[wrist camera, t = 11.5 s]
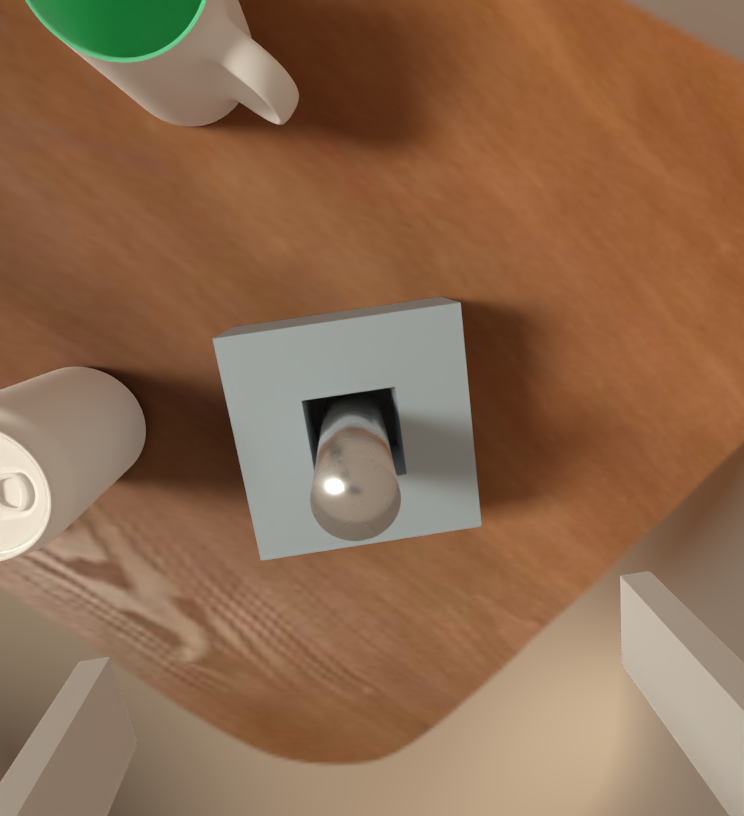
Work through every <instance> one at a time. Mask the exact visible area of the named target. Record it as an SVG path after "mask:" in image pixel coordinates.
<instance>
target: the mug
mask: <svg viewBox="0 0 744 816" xmlns="http://www.w3.org/2000/svg"><path fill="white" fill-rule="evenodd" d="M26 2H27V4H28V5H29V7H30V8H31V9H32V11H33V12H34V14H35V15H36V16H37V17H38V19H39V20H40V21H41V22H42V23H43V24H44V25H45V26H46V27H47V28H48V29H49V30H50V31H51V32H52V33H53V34H54V35H55V36H56V37H58V38H59V39H60V40H61V41H63V42H64V43H65V44H66V45H67V46H69V47H70V48H71V49H72V50H74V51H75V52H76V53H77V54H79V55H80V56H81V57H82V58H83V59H85V60H86V61H87V62H88V63H90V64H91V65H92V66H93V67H94V68H96V69H97V70H98V71H99V72H101V73H102V74H103V75H104V76H105V77H107V78H108V79H109V80H110V81H112V82H113V83H114V84H115V85H116V86H118V87H119V88H120V89H121V90H123V91H124V92H125V93H126V94H127V95H129V96H130V97H131V98H132V99H134V100H135V101H136V102H137V103H138V104H140V105H141V106H142V107H143V108H145V109H146V110H147V111H148V112H150V113H151V114H153V115H154V116H156V117H157V118H159V119H161V120H163V121H166V122H168V123H171V124H175V125H179V126H187V127H195V126H203V125H207V124H210V123H213V122H215V121H217V120H219V119H221V118H223V117H224V116H226V115H227V114H228V113H230V112H231V111H232V110H233V109H234V108H235V107H236V106H237V104H238V103H239V102H240V103H241V104H243V105H245V106H246V107H248V108H249V109H250V110H252V111H253V112H255V113H256V114H258V115H259V116H261V117H263V118H264V119H266V120H268V121H270V122H272V123H274V124H277V125H282V124H284V123H286V122H287V121H288V120H289V118H290V117H291V116H292V114H293V112H294V110H295V109H296V106H297V104H298V100H299V92H298V89H297V87H296V85H295V83H294V81H293V80H292V78H291V77H290V75H289V74H288V73H287V71H286V70H285V69H284V68H283V67H282V66H281V65H280V64H279V63H278V62H277V61H276V60H275V59H274V58H273V57H272V56H271V55H270V54H269V53H268V52H267V51H266V50H265V49H264V48H262V47H261V46H260V45H259V44H258V43H256V42H255V41H254V40H253V39H252V38H251V34H250V30H249V27H248V25H247V22H246V19H245V17H244V14H243V11H242V9H241V6H240V3H239V1H238V0H26Z"/></svg>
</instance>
